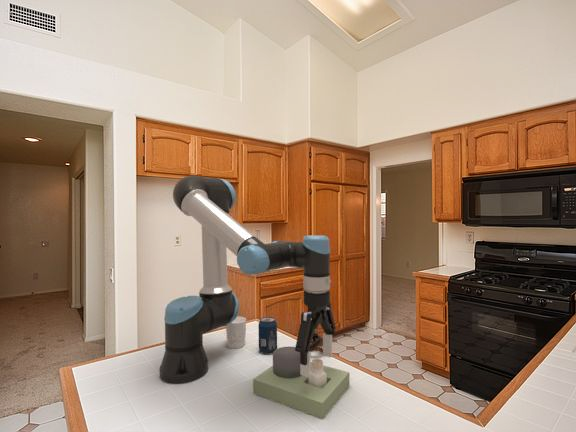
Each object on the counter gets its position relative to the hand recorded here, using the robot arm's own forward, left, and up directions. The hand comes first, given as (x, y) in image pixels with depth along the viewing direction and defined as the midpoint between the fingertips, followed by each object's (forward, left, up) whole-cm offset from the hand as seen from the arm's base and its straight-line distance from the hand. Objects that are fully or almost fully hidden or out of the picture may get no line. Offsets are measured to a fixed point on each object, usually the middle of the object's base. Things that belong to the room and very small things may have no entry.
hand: (317, 365), depth 89 cm
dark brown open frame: (-13, +25, -9) cm, 30 cm away
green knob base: (-5, 0, -8) cm, 10 cm away
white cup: (-43, +14, -8) cm, 46 cm away
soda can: (-29, +16, -8) cm, 34 cm away
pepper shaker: (0, 0, -8) cm, 8 cm away
